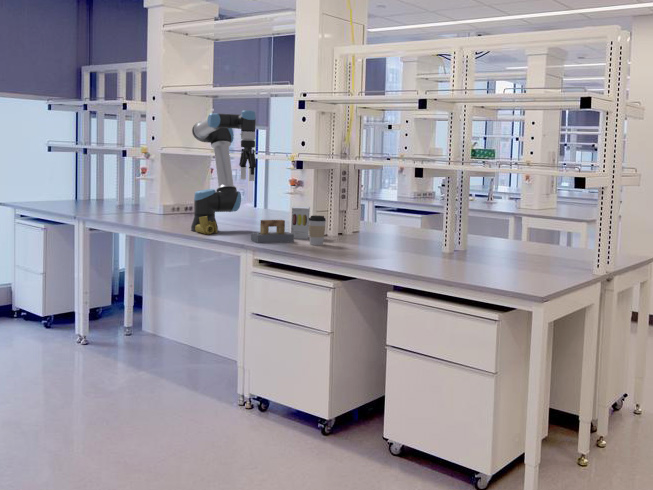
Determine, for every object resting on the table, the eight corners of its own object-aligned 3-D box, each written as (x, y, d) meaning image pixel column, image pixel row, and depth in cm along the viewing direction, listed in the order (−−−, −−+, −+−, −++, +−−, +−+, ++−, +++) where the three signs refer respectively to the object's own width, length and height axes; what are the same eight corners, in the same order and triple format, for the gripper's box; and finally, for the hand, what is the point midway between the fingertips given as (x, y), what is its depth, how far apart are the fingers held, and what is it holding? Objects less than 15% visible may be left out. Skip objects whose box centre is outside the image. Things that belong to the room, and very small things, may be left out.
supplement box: (290, 238, 393) (291, 207, 391) (291, 236, 402) (292, 206, 400) (308, 239, 393) (308, 208, 390) (309, 237, 402) (310, 206, 399)
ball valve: (207, 236, 395) (222, 233, 402) (204, 218, 393) (219, 215, 400) (194, 235, 405) (209, 232, 411) (192, 217, 403) (207, 214, 409)
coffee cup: (305, 244, 370) (305, 215, 368) (311, 242, 379) (311, 214, 377) (321, 246, 368) (322, 216, 365) (327, 244, 376) (328, 215, 374)
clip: (262, 242, 375) (263, 220, 374) (260, 241, 379) (260, 220, 377) (284, 241, 381) (284, 220, 379) (281, 240, 384) (282, 219, 383)
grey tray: (257, 243, 371) (257, 235, 370) (251, 240, 380) (251, 232, 379) (293, 241, 380) (293, 234, 379) (286, 239, 388) (286, 232, 388)
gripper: (233, 139, 395) (233, 178, 398) (249, 140, 372) (248, 181, 375) (246, 140, 398) (246, 178, 401) (263, 140, 376) (262, 181, 379)
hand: (247, 180), depth 388 cm, fingers open, 13 cm apart
